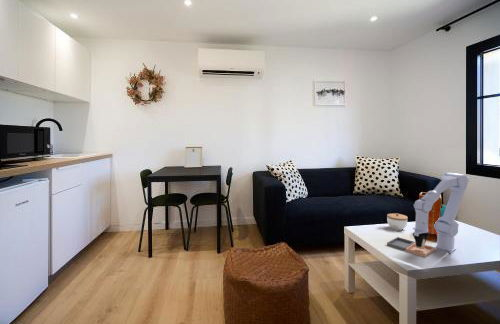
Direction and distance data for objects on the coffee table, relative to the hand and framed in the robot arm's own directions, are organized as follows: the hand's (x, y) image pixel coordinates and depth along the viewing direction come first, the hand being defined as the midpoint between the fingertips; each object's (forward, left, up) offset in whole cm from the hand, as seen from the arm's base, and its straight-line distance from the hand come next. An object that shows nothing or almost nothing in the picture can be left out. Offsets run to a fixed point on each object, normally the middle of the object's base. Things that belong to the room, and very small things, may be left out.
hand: (420, 245), depth 140 cm
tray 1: (0, -10, -4) cm, 11 cm away
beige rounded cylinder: (0, 0, -1) cm, 1 cm away
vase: (-43, -3, -4) cm, 43 cm away
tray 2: (0, 0, -4) cm, 4 cm away
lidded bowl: (-30, -25, -4) cm, 39 cm away
